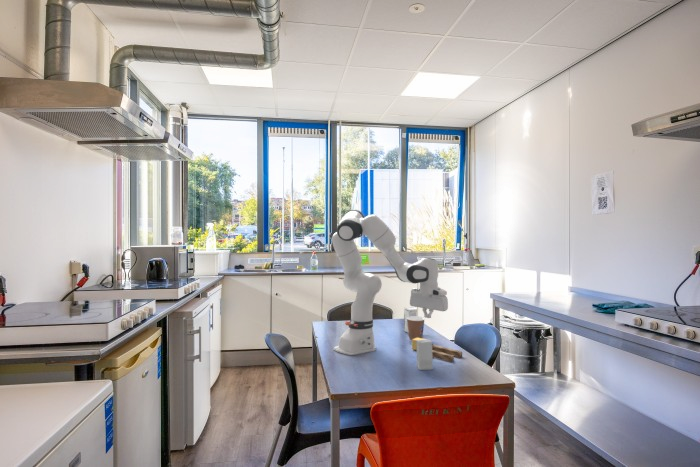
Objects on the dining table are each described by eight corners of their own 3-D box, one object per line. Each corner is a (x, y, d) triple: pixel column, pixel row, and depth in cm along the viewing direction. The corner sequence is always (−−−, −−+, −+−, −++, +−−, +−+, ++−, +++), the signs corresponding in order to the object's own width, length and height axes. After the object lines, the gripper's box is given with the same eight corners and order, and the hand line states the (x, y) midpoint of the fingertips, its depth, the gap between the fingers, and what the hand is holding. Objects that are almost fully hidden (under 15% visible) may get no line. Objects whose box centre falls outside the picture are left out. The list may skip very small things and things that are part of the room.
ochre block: (427, 349, 187) (427, 339, 187) (422, 351, 183) (422, 341, 183) (417, 347, 191) (417, 337, 191) (412, 349, 187) (412, 339, 187)
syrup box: (411, 330, 227) (412, 306, 227) (416, 332, 221) (417, 308, 222) (403, 331, 225) (403, 307, 225) (408, 333, 219) (408, 309, 219)
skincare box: (429, 366, 163) (429, 339, 163) (432, 370, 158) (433, 342, 158) (416, 366, 162) (416, 339, 162) (418, 370, 158) (419, 342, 158)
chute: (462, 356, 176) (462, 350, 176) (451, 361, 169) (451, 355, 169) (431, 349, 188) (431, 343, 188) (419, 353, 181) (419, 347, 181)
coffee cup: (424, 342, 200) (425, 320, 200) (405, 341, 202) (406, 319, 202) (424, 337, 210) (425, 316, 210) (406, 336, 212) (406, 315, 212)
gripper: (407, 288, 189) (406, 315, 189) (443, 292, 175) (442, 321, 175) (414, 287, 194) (413, 313, 193) (449, 291, 180) (449, 320, 179)
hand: (427, 317), depth 184 cm, fingers closed
